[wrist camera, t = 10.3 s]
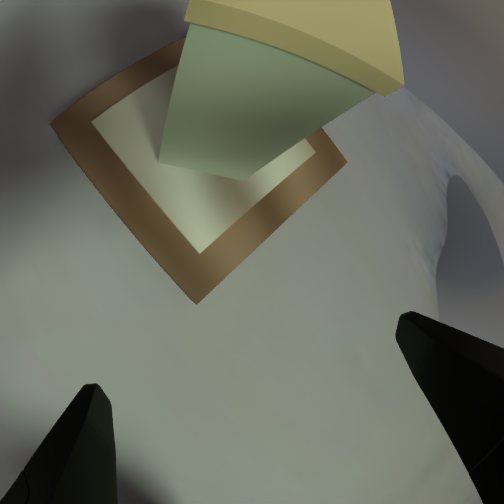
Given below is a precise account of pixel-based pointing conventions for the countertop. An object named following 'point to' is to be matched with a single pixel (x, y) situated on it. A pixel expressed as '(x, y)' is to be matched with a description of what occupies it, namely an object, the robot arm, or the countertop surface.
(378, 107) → the countertop surface
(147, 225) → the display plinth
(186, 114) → the tea tin
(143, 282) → the countertop surface
